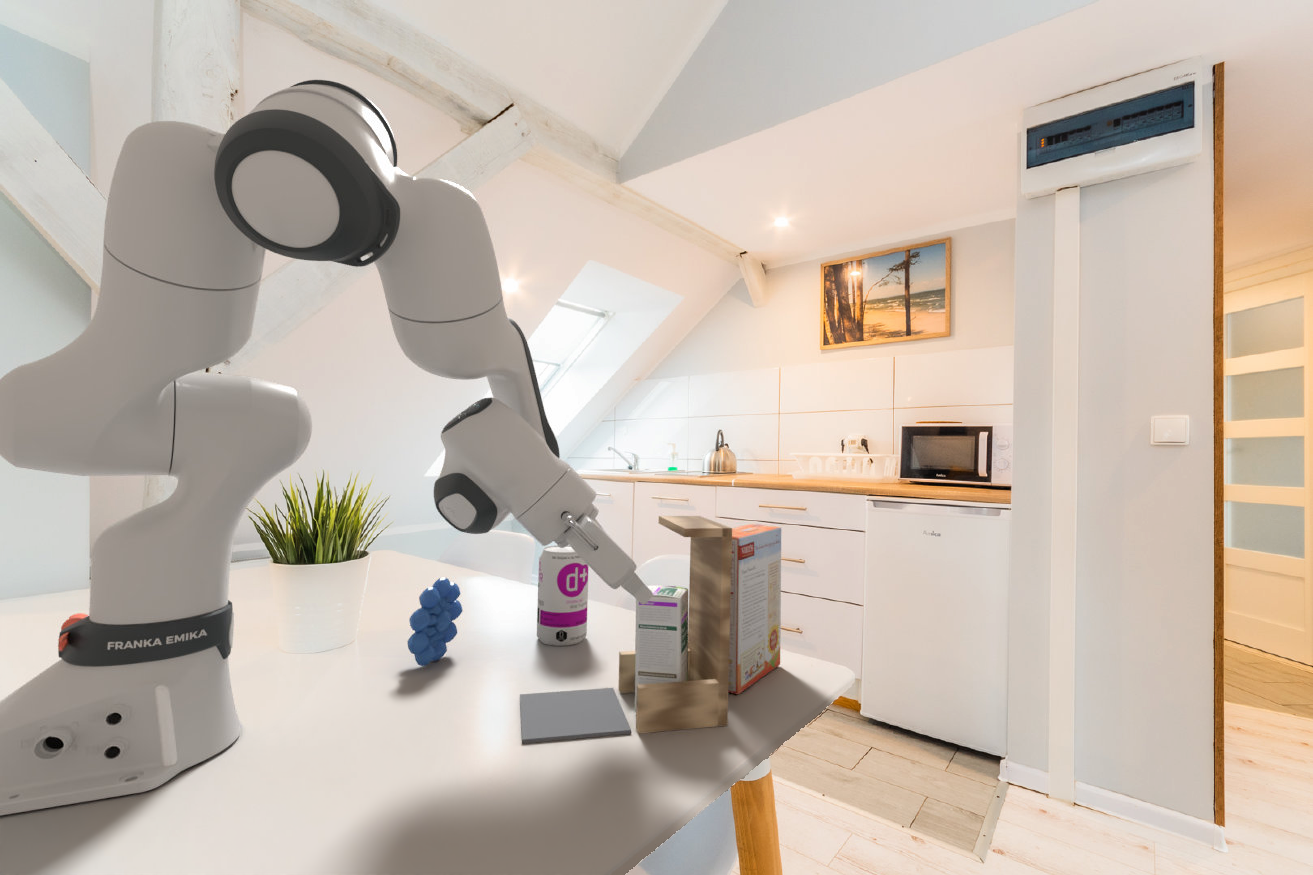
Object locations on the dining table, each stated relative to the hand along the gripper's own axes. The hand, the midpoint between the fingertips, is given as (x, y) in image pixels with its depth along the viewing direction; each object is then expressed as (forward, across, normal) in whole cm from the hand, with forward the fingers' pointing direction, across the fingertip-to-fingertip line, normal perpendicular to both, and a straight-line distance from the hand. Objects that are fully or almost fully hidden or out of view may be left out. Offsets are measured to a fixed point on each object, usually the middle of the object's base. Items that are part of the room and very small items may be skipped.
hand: (639, 589), depth 73 cm
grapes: (-9, +22, +29) cm, 38 cm away
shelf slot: (+14, +1, +8) cm, 16 cm away
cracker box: (+23, +9, -1) cm, 25 cm away
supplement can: (+6, +29, +15) cm, 33 cm away
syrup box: (+13, +1, +8) cm, 16 cm away
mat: (+5, +1, +16) cm, 17 cm away
